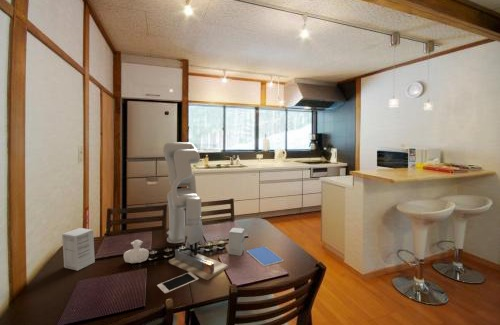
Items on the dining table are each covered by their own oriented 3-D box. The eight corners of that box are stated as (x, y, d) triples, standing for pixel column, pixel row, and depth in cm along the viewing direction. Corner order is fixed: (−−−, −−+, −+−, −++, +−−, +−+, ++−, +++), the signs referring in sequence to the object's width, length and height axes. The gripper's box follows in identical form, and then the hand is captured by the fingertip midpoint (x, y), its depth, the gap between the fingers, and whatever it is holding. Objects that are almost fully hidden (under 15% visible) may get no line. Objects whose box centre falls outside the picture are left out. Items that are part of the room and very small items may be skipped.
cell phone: (156, 286, 108) (156, 284, 108) (190, 273, 119) (190, 271, 119) (164, 294, 103) (164, 293, 103) (199, 279, 114) (199, 278, 114)
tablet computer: (284, 262, 132) (284, 260, 131) (263, 268, 126) (263, 265, 125) (264, 248, 148) (264, 245, 148) (245, 252, 142) (245, 250, 142)
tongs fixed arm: (174, 258, 130) (173, 250, 129) (178, 257, 132) (177, 248, 131) (210, 274, 115) (210, 264, 115) (214, 272, 117) (214, 262, 117)
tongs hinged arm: (180, 259, 129) (180, 251, 129) (182, 258, 130) (182, 250, 130) (212, 272, 117) (212, 264, 116) (214, 271, 117) (214, 263, 117)
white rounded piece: (149, 263, 132) (150, 241, 137) (147, 260, 125) (149, 237, 131) (124, 265, 129) (126, 243, 134) (121, 262, 122) (123, 239, 128)
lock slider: (182, 258, 130) (182, 251, 129) (187, 256, 132) (187, 249, 132) (189, 261, 127) (189, 254, 126) (194, 258, 129) (194, 252, 129)
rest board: (168, 262, 128) (168, 260, 128) (189, 252, 139) (189, 250, 139) (207, 280, 113) (207, 277, 113) (227, 267, 124) (227, 265, 124)
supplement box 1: (95, 262, 127) (94, 229, 126) (77, 271, 119) (76, 236, 117) (81, 259, 130) (80, 227, 129) (63, 267, 122) (61, 233, 120)
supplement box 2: (241, 255, 137) (241, 233, 136) (228, 254, 138) (228, 231, 137) (244, 250, 144) (244, 228, 143) (231, 248, 146) (232, 227, 144)
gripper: (198, 215, 139) (198, 248, 141) (177, 223, 126) (177, 258, 128) (209, 218, 135) (209, 251, 136) (187, 226, 122) (188, 262, 124)
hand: (193, 254), depth 132 cm, fingers closed
